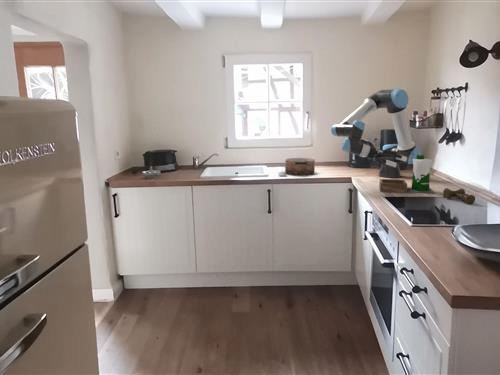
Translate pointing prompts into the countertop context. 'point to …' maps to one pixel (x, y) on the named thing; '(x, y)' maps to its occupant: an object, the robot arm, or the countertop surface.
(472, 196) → the kendama
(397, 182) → the collar
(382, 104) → the robot arm
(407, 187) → the rubber mat
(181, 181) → the countertop surface
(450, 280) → the countertop surface
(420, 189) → the soya milk
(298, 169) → the wicker basket
